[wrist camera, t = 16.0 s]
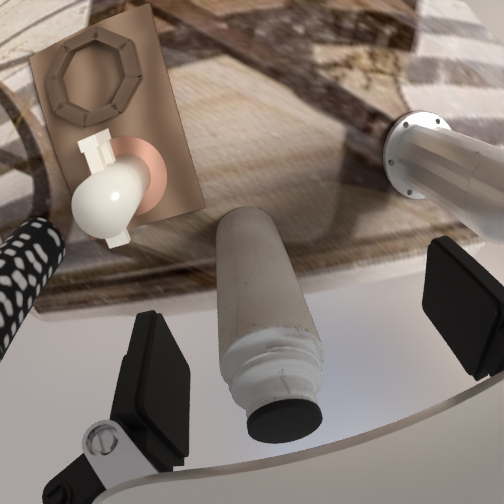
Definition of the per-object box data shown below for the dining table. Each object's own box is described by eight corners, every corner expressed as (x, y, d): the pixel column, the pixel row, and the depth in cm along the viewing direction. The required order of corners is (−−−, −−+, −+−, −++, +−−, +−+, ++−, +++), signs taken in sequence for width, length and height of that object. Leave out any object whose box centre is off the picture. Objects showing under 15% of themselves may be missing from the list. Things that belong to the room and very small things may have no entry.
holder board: (150, 5, 27) (145, -1, 24) (205, 204, 40) (204, 214, 37) (33, 58, 28) (21, 57, 25) (93, 236, 40) (86, 247, 38)
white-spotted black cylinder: (63, 274, 43) (8, 374, 25) (19, 259, 41) (-47, 347, 23) (67, 226, 39) (-4, 320, 22) (20, 211, 37) (-63, 292, 20)
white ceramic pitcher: (160, 203, 38) (145, 241, 29) (117, 216, 38) (91, 256, 29) (133, 118, 32) (105, 131, 24) (87, 135, 33) (49, 155, 24)
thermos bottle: (267, 265, 45) (318, 453, 21) (210, 256, 44) (214, 454, 19) (283, 212, 42) (367, 393, 17) (222, 201, 40) (237, 392, 16)
